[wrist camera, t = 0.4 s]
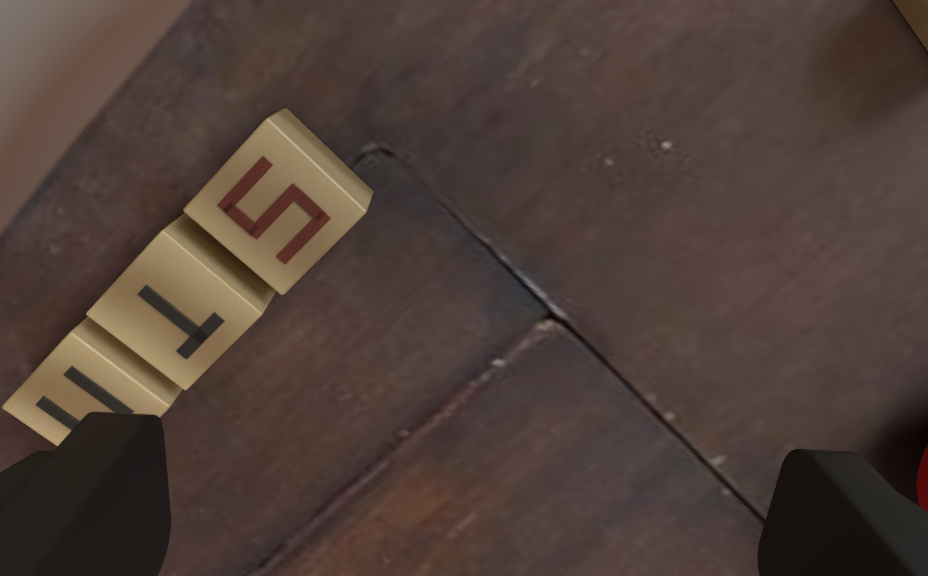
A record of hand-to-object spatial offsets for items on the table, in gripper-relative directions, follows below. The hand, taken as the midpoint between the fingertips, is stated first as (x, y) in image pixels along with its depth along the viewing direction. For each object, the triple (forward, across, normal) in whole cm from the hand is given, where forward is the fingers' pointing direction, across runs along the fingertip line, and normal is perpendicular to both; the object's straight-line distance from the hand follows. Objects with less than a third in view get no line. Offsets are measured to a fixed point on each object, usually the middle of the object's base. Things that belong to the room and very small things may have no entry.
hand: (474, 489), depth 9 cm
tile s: (+19, +6, +1) cm, 20 cm away
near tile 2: (+19, +10, +5) cm, 22 cm away
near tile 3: (+19, +13, +9) cm, 25 cm away
